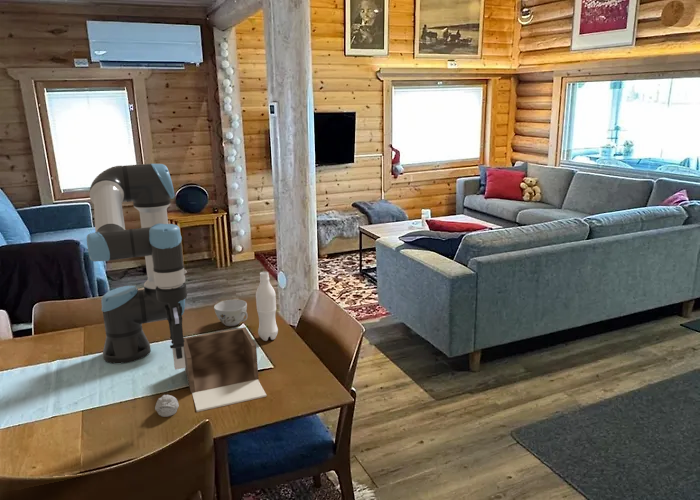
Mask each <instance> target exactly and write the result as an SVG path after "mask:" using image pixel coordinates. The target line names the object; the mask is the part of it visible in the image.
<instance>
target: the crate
mask: <svg viewBox="0 0 700 500" xmlns="http://www.w3.org/2000/svg"><path fill="white" fill-rule="evenodd" d="M183 339H184V341H185V342H184V347H183V348H184V357H185V366H186V368H184V371H185V375H186V379H187V382H188V387H189V391H190V394H192V393H195V392H199V391H204V390H209V389H214V388H219V387H223V386H228V385H233V384H238V383H242V382H247V381H252V380H257V379H258V380H259V366H258V365H259V364H258V352H257V344H256V343H255V341H254V340H253V338H252V336H251V334H250V332H249V331H248V329H247V328H246V327H239V328H234V329H227V330H220V331H216V332H210V333H204V334H199V335H193V336H187V337H186V336H185V337H183Z"/></svg>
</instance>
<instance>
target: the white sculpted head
mask: <svg viewBox="0 0 700 500" xmlns="http://www.w3.org/2000/svg"><path fill="white" fill-rule="evenodd" d="M179 406H180V405H179V401H178V398H176V397H175V396H174V395H170V394H163V395H162V396H161V397H158V399H157V401H156V403H155V406H154V410H155V411H156V412H157V414H158V415H159V416H160V417H163V418H164V417H165V418H166V417H172V416H174V415H175V414H176V413H177V412H178V408H179Z"/></svg>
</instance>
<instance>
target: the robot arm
mask: <svg viewBox="0 0 700 500" xmlns="http://www.w3.org/2000/svg"><path fill="white" fill-rule="evenodd" d="M173 185H174V184H173V181H172V177H171V174H170V171H169V169H168V167H167V165H165V164H163V163H143V164H129V165H127V164H126V165H116V166H115V165H114V166H112V167H109V168H107V169H105V170H103V171H102V172H101V173H99V174H97V176H96V177H95V178H94V179H93V181H92V182H91V184H90V187H89V197H90V201H91V203H92V204H93V209H94V212H93V213H94V227H95V228H94V229H95V231H94V232H92V233H89V234H87V235H86V245H87V253H88V256H89V257H88V258H89V260H90V261H92V262H110V261H115V260H122V259H129V258H130V259H132V258H140V257H141V258H142V257H144V259H145V268H146V277H147V280H146V281H145V282H144V283H143V289H138V287H137V286H135V285H124V286H120V287H116V288H114V289H111V290H109V291H107V292H105V293H104V294H103V295H102V297H101V301H100V302H101V312H102V316H103V323H104V331H105V339H104V346H103V350H102V355H103V357H102V358H103V360H104V361H105V362H107V363H110V364H114V363H121V364H127V363H133V362H136V361H139V360H141V359H143V358H145V357H147V356H148V355H149V354H150V353H151V349H152V348H151V344H150V342H149V339H148V337H147V335H146V334H145V332H144V329H143V324H148V323H155V322H160V321H168V322H167V323H168V326H169V327H168V328H169V334H170V337H169V338H170V340H171V341H170V342H171V345H169V347H170V349H172V356H173V365H174V370H176V371H177V370H182V369H185V368H186V366H185V357H184V348H183V347H184V342H185V341H184V339H183V338H184V331H183V315H184V313H185V308H186V298H187V296H188V291H187V289H188V288H187V284H186V283H185V282H186V276H185V275H186V274H187V273H188V271H187V269H185V265H184V255H183V253H184V252H183V244H182V240H183V237H182V235H181V234H182V233H181V228H180V226H178V225H177V224H174V223H169V217H168V211H167V210H168V208H169V207H170V206H171V204H172V203H171V200H173V199H174V198H175V195H176V194H175V189H174V186H173ZM124 202H125V203H126V202H127V203H131V202H132V203H133V208H134V209H135V210H137V211H138V213H139V219H140V226H141V227H139V228H129V229H126V225H125V218H124V211H123V203H124Z"/></svg>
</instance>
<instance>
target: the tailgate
mask: <svg viewBox="0 0 700 500" xmlns="http://www.w3.org/2000/svg"><path fill="white" fill-rule="evenodd" d="M191 394H192V399H193V401H194V406H195V411H196V413H199V412H203V411H208V410H213V409H217V408H220V407H221V408H222V407H224V406H225V407H226V406H229V405H230V406H231V405H233V404H240V403H243V402H247V401H251V400H256V399H257V400H258V399H261V398H265V397H267V396H268V395H267V393H266V391H265V390H264V387H263V386H262V384H261V383H260V380H259V379H255V380H250V381H246V382H241V383H236V384H231V385H226V386H222V387H217V388H212V389H207V390H203V391H198V392H193V393H191Z"/></svg>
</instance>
